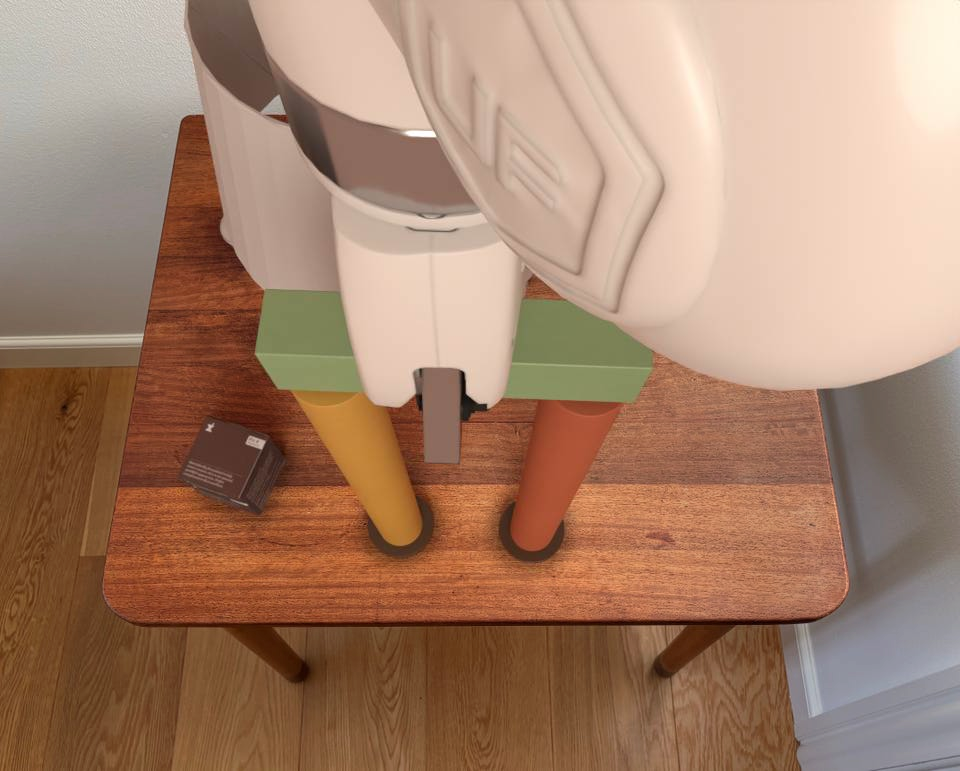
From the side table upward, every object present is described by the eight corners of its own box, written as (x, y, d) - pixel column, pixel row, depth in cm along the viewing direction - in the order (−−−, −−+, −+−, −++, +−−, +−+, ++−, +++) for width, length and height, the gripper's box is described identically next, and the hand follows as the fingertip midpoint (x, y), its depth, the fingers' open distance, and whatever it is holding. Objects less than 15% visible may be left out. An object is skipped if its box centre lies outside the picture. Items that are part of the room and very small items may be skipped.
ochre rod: (431, 559, 69) (387, 430, 34) (366, 557, 70) (253, 425, 34) (435, 494, 72) (398, 310, 36) (371, 492, 72) (271, 305, 36)
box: (202, 496, 71) (173, 476, 65) (231, 437, 74) (206, 412, 67) (261, 517, 71) (238, 499, 64) (288, 458, 73) (269, 435, 66)
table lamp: (463, 485, 72) (452, 274, 35) (243, 364, 76) (23, 60, 39) (582, 279, 80) (677, -72, 43) (377, 180, 84) (301, -217, 47)
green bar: (634, 403, 34) (654, 369, 30) (277, 390, 34) (253, 354, 31) (632, 342, 35) (650, 302, 32) (286, 329, 35) (264, 287, 32)
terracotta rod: (563, 565, 69) (656, 441, 34) (497, 562, 69) (521, 435, 34) (563, 499, 72) (651, 319, 36) (499, 497, 72) (524, 315, 36)
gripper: (317, -184, 21) (388, 210, 38) (218, 380, 15) (356, 543, 32) (595, -175, 21) (540, 215, 38) (610, 395, 15) (536, 550, 32)
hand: (456, 364), depth 35 cm, fingers closed on green bar, 3 cm apart
